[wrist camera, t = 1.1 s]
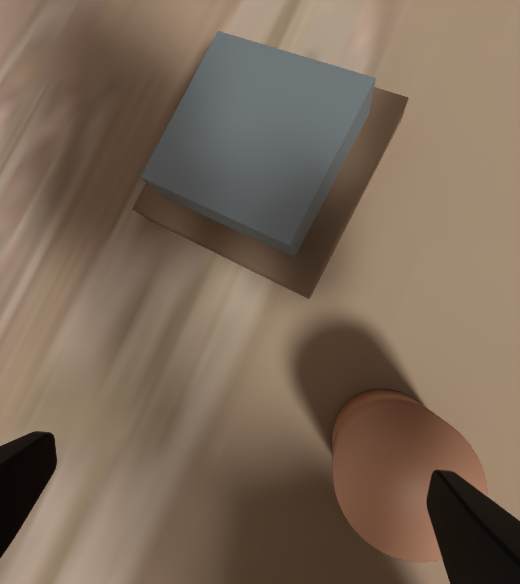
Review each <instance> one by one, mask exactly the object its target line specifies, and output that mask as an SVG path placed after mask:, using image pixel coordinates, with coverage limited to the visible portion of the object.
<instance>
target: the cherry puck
mask: <svg viewBox="0 0 520 584" xmlns="http://www.w3.org/2000/svg"><path fill="white" fill-rule="evenodd" d="M332 452H333V480H334V489H335V493H336V497H337V500H338V502H339V505H340V508H341V510H342V512H343V514H344V516H345V517H346V519H347V520H348V522H349V523H350V525H351V526H352V527H353V529H354V530H355V531H356V532H357V533H358V534H359V535H360V536H361V537H362V538H363V539H364V540H365V541H366V542H367V543H369V544H370V545H371V546H373V547H374V548H376V549H377V550H379V551H381V552H383V553H385V554H387V555H389V556H391V557H394V558H397V559H401V560H404V561H411V562H431V561H437V560H441V559H442V556H441V553H440V549H439V546H438V543H437V540H436V536H435V533H434V530H433V527H432V523H431V520H430V517H429V514H428V510H427V504H426V499H427V494H428V489H429V484H430V480H431V475H432V472H433V471H434V470H437V469H438V470H448V471H453V472H455V473H457V474H458V475H459V476H461V477H462V478H463V479H465V480H466V481H467V482H469V483H470V484H471V485H473V486H474V487H475V488H476V489H478V490H479V491H480V492H482V493H483V494H484V495H486V496H487V497H488V495H487V484H486V478H485V474H484V471H483V468H482V465H481V463H480V461H479V459H478V457H477V455H476V453H475V452H474V450H473V448H472V447H471V445H470V444H469V443H468V442H467V440H466V439H465V438H464V437H463V436H462V435H461V434H460V433H459V432H458V431H457V430H456V429H455V428H453V427H452V426H451V425H450V424H448V423H447V422H446V421H444V420H443V419H441V418H440V417H439V416H437V415H436V414H434V413H433V412H432V411H430V410H429V409H427V408H426V407H425V406H423V405H422V404H420V403H419V402H418V401H416V400H415V399H413V398H411V397H410V396H408V395H406V394H404V393H401V392H398V391H395V390H389V389H373V390H368V391H365V392H362V393H360V394H358V395H356V396H354V397H353V398H351V399H350V400H349V401H348V402H347V403H346V404H345V405H344V406H343V407H342V408H341V410H340V411H339V413H338V415H337V417H336V419H335V422H334V426H333V432H332Z"/></svg>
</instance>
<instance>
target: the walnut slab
mask: <svg viewBox="0 0 520 584" xmlns="http://www.w3.org/2000/svg"><path fill="white" fill-rule="evenodd" d="M407 101H408V97H405V96H401V95H398V94H395V93H392V92H388V91H385V90H382V89H379V88H375V87H374V91H373V96H372V102H371V107H370V113H369V115H368V117H367V119H366V121H365V123H364V124H363V126H362V128H361V130H360V132H359V134H358V136H357V138H356V140H355V142H354V144H353V146H352V148H351V150H350V152H349V154H348V155H347V157H346V159H345V161H344V163H343V165H342V167H341V169H340V171H339V173H338V175H337V177H336V179H335V181H334V183H333V185H332V186H331V188H330V190H329V192H328V194H327V196H326V198H325V200H324V202H323V204H322V206H321V208H320V210H319V212H318V214H317V216H316V217H315V219H314V221H313V223H312V225H311V227H310V229H309V231H308V233H307V235H306V237H305V239H304V241H303V243H302V245H301V246H300V248H299V250H298V252H297V254H296V256H295V258H294V257H292V256H290V255H287V254H285V253H283V252H281V251H279V250H277V249H275V248H272V247H270V246H268V245H266V244H264V243H262V242H260V241H257V240H255V239H253V238H251V237H249V236H247V235H245V234H242V233H240V232H238V231H236V230H234V229H232V228H230V227H227V226H225V225H223V224H221V223H219V222H217V221H215V220H212V219H210V218H208V217H206V216H204V215H202V214H200V213H197V212H195V211H193V210H191V209H189V208H187V207H185V206H182V205H180V204H178V203H176V202H174V201H172V200H170V199H167V198H165V197H163V196H162V195H161V194H159V193H158V192H157V191H156V190H155V189H154V188H152V187H151V186H150V185H149V184H148V183H146V185H145V187H144V188H143V190H142V192H141V194H140V196H139V198H138V200H137V202H136V203H135V205H134V207H133V210H134V211H136V212H137V213H139V214H141V215H142V216H144V217H145V218H147V219H148V220H150V221H152V222H154V223H156V224H158V225H160V226H162V227H164V228H166V229H168V230H170V231H172V232H174V233H176V234H178V235H180V236H182V237H185V238H187V239H189V240H191V241H193V242H195V243H197V244H199V245H201V246H203V247H205V248H207V249H209V250H211V251H213V252H215V253H217V254H219V255H221V256H223V257H225V258H227V259H229V260H231V261H233V262H235V263H237V264H239V265H241V266H243V267H245V268H247V269H249V270H251V271H253V272H255V273H257V274H259V275H261V276H263V277H265V278H267V279H269V280H271V281H273V282H275V283H277V284H279V285H282V286H284V287H286V288H288V289H290V290H292V291H294V292H296V293H298V294H300V295H302V296H304V297H306V298H308V299H309V298H310V296H311V294H312V293H313V291H314V289H315V287H316V285H317V283H318V281H319V279H320V277H321V275H322V273H323V271H324V269H325V267H326V265H327V263H328V261H329V259H330V257H331V256H332V254H333V252H334V250H335V248H336V246H337V244H338V242H339V240H340V238H341V236H342V234H343V232H344V230H345V228H346V226H347V224H348V222H349V220H350V219H351V217H352V215H353V213H354V211H355V209H356V207H357V205H358V203H359V201H360V199H361V197H362V195H363V193H364V191H365V189H366V187H367V185H368V183H369V181H370V180H371V178H372V176H373V174H374V172H375V170H376V168H377V166H378V164H379V162H380V160H381V158H382V156H383V154H384V152H385V150H386V148H387V146H388V144H389V143H390V141H391V139H392V137H393V135H394V133H395V131H396V129H397V127H398V125H399V123H400V121H401V119H402V116H403V113H404V110H405V107H406V104H407Z"/></svg>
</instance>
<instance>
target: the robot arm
mask: <svg viewBox="0 0 520 584" xmlns="http://www.w3.org/2000/svg"><path fill="white" fill-rule="evenodd" d="M56 465H57V456H56V447H55V438H54V435H53V434H52V433H50V432H41V431H35V432H32V433H29V434H27V435H25V436H22V437H20V438H18V439H16V440H13V441H11V442H9V443H7V444H4V445H2V446H0V558H1V557H2V555H3V554H4V552H5V551H6V550H7V548H8V547H9V545H10V544H11V542H12V541H13V539H14V538H15V536H16V534H17V533H18V531H19V530H20V528H21V527H22V525H23V523H24V522H25V520H26V518H27V517H28V515H29V513H30V512H31V510H32V508H33V506H34V505H35V503H36V501H37V500H38V498H39V496H40V495H41V493H42V491H43V490H44V488H45V486H46V485H47V483H48V481H49V480H50V478H51V476H52V475H53V473H54V471H55V469H56ZM426 504H427V510H428V514H429V517H430V520H431V523H432V527H433V530H434V533H435V536H436V540H437V543H438V546H439V549H440V553H441V556H442V559H443V562H444V565H445V569H446V572H447V575H448V578H449V581H450V584H520V521H519V520H518V519H516V518H515V517H514V516H512V515H511V514H510V513H508V512H507V511H506V510H504V509H503V508H502V507H500V506H499V505H498V504H496V503H495V502H494V501H492V500H491V499H490V498H488V497H487V496H486V495H484V494H483V493H482V492H480V491H479V490H478V489H476V488H475V487H474V486H473V485H471V484H470V483H469V482H467V481H466V480H465V479H463V478H462V477H461V476H459V475H458V474H457V473H455V472H453V471H448V470H438V469H437V470H434V471H433V472H432V475H431V480H430V484H429V489H428V494H427V499H426Z"/></svg>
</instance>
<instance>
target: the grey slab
mask: <svg viewBox="0 0 520 584" xmlns="http://www.w3.org/2000/svg"><path fill="white" fill-rule="evenodd" d="M375 79H376V78H374V77H370V76H367V75H364V74H360V73H357V72H354V71H350V70H347V69H344V68H340V67H337V66H333V65H330V64H327V63H323V62H320V61H317V60H313V59H310V58H307V57H303V56H300V55H297V54H293V53H290V52H287V51H283V50H280V49H276V48H273V47H270V46H266V45H263V44H260V43H256V42H253V41H250V40H246V39H243V38H240V37H236V36H233V35H230V34H226V33H223V32H220V31H218V32H217V34H216V36H215V38H214V39H213V41H212V43H211V45H210V47H209V49H208V51H207V53H206V54H205V56H204V58H203V60H202V62H201V64H200V66H199V68H198V69H197V71H196V73H195V75H194V77H193V79H192V81H191V83H190V84H189V86H188V88H187V90H186V92H185V94H184V96H183V97H182V99H181V101H180V103H179V105H178V107H177V109H176V111H175V112H174V114H173V116H172V118H171V120H170V122H169V124H168V126H167V127H166V129H165V131H164V133H163V135H162V137H161V139H160V141H159V142H158V144H157V146H156V148H155V150H154V152H153V154H152V155H151V157H150V159H149V161H148V163H147V165H146V167H145V169H144V170H143V172H142V174H141V176H140V177H141V178H142V179H143V180H144V181H145V182H147V183H148V184H149V185H150V186H151V187H152V188H154V189H155V190H156V191H157V192H158V193H159V194H161V195H162V196H163V197H165V198H167V199H170V200H172V201H174V202H176V203H178V204H180V205H182V206H185V207H187V208H189V209H191V210H193V211H195V212H197V213H200V214H202V215H204V216H206V217H208V218H210V219H212V220H215V221H217V222H219V223H221V224H223V225H225V226H227V227H230V228H232V229H234V230H236V231H238V232H240V233H242V234H245V235H247V236H249V237H251V238H253V239H255V240H257V241H260V242H262V243H264V244H266V245H268V246H270V247H272V248H275V249H277V250H279V251H281V252H283V253H285V254H287V255H290V256H292V257H294V258H295V256H296V254H297V252H298V250H299V248H300V246H301V245H302V243H303V241H304V239H305V237H306V235H307V233H308V231H309V229H310V227H311V225H312V223H313V221H314V219H315V217H316V216H317V214H318V212H319V210H320V208H321V206H322V204H323V202H324V200H325V198H326V196H327V194H328V192H329V190H330V188H331V186H332V185H333V183H334V181H335V179H336V177H337V175H338V173H339V171H340V169H341V167H342V165H343V163H344V161H345V159H346V157H347V155H348V154H349V152H350V150H351V148H352V146H353V144H354V142H355V140H356V138H357V136H358V134H359V132H360V130H361V128H362V126H363V124H364V123H365V121H366V119H367V117H368V115H369V113H370V107H371V102H372V96H373V91H374V85H375Z"/></svg>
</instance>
